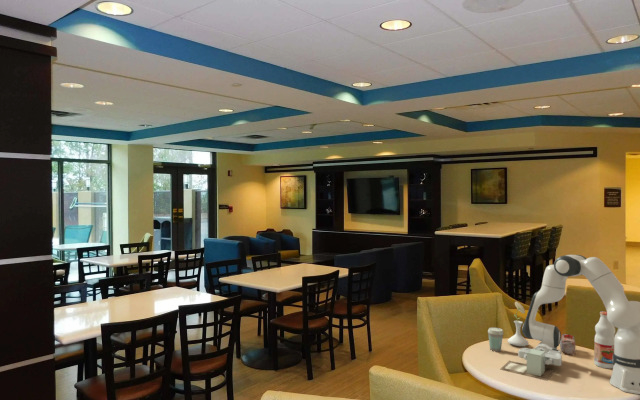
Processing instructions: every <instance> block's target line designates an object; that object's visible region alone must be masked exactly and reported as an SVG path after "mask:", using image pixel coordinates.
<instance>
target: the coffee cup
mask: <svg viewBox="0 0 640 400" xmlns="http://www.w3.org/2000/svg"><path fill="white" fill-rule="evenodd" d="M504 333H505V332H504V329H502V328H499V327H488V330H487V334H488V342H489V343H488V344H489V350H490V351H491V350H492V352H494V351H495V353H499V352H501V351H502V345H503V337H504Z"/></svg>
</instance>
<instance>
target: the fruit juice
mask: <svg viewBox="0 0 640 400" xmlns="http://www.w3.org/2000/svg"><path fill="white" fill-rule="evenodd" d="M599 315H600V317H599V320H598V322H597V323H596V324H595V326H594V331H595V335H594V341H593V342H594V347H593V348H594V349H593V350H594V351H593V353H594V354H593V357H594V358H593V363H594V365H595V366H597V367H599V368H603V369H613V353H614V337H615V335H616V327H614V326H613V325H611V324H610V322H609V321H608V319H607V311H603V310H602V311H600V312H599Z"/></svg>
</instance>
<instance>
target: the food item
mask: <svg viewBox="0 0 640 400" xmlns="http://www.w3.org/2000/svg"><path fill="white" fill-rule="evenodd" d="M559 347H560V348H559V349H560V351H561V354H565V355H568V356H569V355H571V356H575V355H576V354H575V353H576V340H575V336H573V335H571V334H570V333H569V334H568V333H562V334H561V340H560V344H559Z"/></svg>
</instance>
